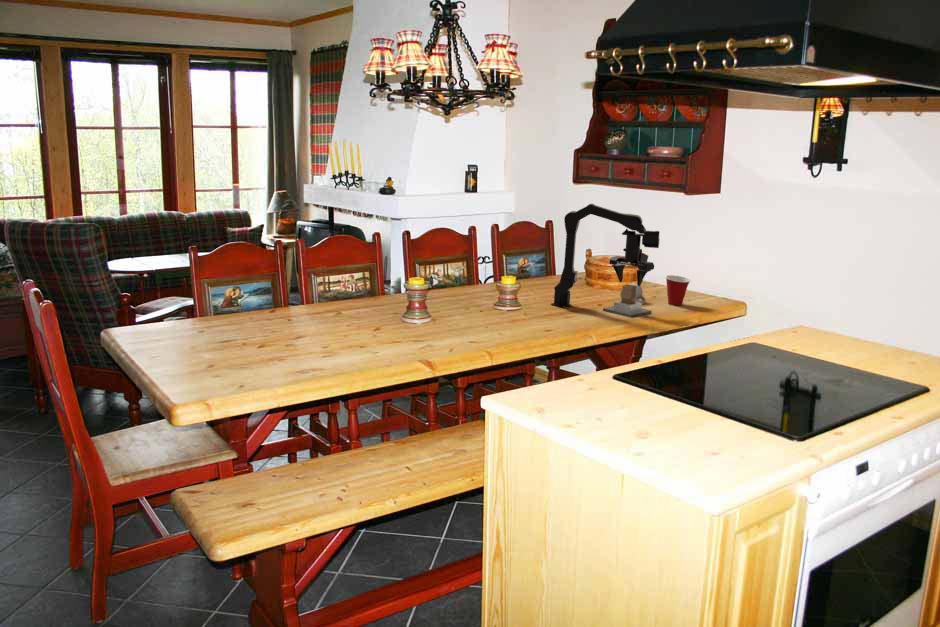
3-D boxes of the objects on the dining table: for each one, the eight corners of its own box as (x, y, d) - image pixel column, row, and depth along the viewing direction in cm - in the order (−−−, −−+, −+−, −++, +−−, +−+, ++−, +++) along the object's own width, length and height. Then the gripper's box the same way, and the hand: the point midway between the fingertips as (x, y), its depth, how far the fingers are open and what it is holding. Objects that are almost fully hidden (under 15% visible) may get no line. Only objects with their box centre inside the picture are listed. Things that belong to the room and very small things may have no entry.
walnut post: (628, 311, 315) (630, 287, 313) (620, 309, 318) (622, 285, 316) (634, 309, 318) (636, 286, 316) (626, 307, 321) (628, 284, 318)
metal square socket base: (630, 317, 309) (631, 307, 308) (603, 310, 319) (603, 301, 318) (651, 313, 318) (652, 303, 317) (624, 306, 328) (625, 297, 327)
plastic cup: (683, 308, 328) (686, 280, 325) (659, 304, 334) (661, 277, 331) (691, 304, 337) (694, 277, 334) (667, 300, 343) (670, 274, 340)
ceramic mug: (618, 301, 338) (619, 284, 336) (626, 298, 344) (628, 281, 342) (640, 305, 331) (642, 288, 330) (648, 302, 338) (650, 285, 336)
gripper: (663, 247, 310) (660, 285, 314) (626, 242, 324) (623, 278, 328) (647, 250, 303) (643, 288, 307) (609, 243, 317) (607, 281, 320)
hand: (629, 284), depth 316 cm, fingers open, 9 cm apart
